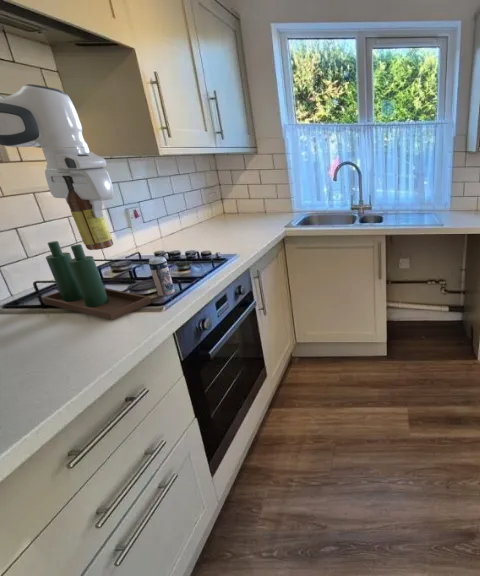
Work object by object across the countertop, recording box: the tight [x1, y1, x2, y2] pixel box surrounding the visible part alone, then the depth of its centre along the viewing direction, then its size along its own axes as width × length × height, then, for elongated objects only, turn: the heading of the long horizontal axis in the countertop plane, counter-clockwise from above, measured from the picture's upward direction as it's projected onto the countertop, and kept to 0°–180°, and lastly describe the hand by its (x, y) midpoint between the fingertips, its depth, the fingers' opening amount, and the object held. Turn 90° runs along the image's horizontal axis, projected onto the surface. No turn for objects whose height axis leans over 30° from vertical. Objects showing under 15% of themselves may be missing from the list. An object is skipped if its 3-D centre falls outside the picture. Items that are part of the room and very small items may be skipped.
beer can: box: [148, 255, 176, 297], centre depth 113 cm, size 5×5×12 cm
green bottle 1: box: [45, 240, 83, 302], centre depth 109 cm, size 6×6×18 cm
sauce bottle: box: [62, 176, 114, 251], centre depth 93 cm, size 7×6×20 cm
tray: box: [41, 287, 152, 321], centre depth 108 cm, size 32×12×3 cm, turn 68°
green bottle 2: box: [69, 243, 109, 307], centre depth 105 cm, size 6×6×18 cm
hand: (89, 216), depth 94 cm, fingers closed on sauce bottle, 6 cm apart
